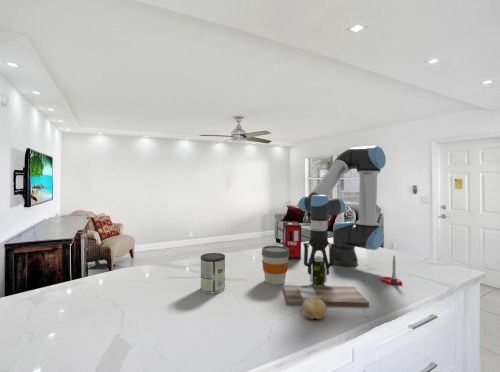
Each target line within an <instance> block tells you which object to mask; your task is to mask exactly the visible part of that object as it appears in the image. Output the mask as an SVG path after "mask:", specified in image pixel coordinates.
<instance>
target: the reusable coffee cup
mask: <svg viewBox="0 0 500 372" xmlns="http://www.w3.org/2000/svg"><path fill="white" fill-rule="evenodd" d="M261 256H262V261H261V262H262V271H263V273H264V282H265V283H266V284H269V285H274V286H279V285H284V284H285V282H286V278H287V272H288V269H289V268H288V267H289V259H288V256H289V249H288V248H287V247H283V245H267V246H264V247H262V249H261Z"/></svg>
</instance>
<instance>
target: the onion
mask: <svg viewBox="0 0 500 372" xmlns="http://www.w3.org/2000/svg"><path fill="white" fill-rule="evenodd" d="M301 310H302V312H303V314H304V316H305V317H306V318H308V319H310V320H313V321H314V320H315V319H316V320H322V318H323V317H325V315H326V313H327V306H326V305H325V303H324V302H323V301H322V300H321V297H318V294H317V297H310V298H307V299H306V300H305V301H304V302H303V304H302V305H301Z"/></svg>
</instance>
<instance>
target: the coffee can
mask: <svg viewBox="0 0 500 372" xmlns="http://www.w3.org/2000/svg"><path fill="white" fill-rule="evenodd" d="M225 260H226V255H225V254H223V253H219V252H209V253H204V254H202V255H201V256H200V291H201V292H202V293H205V294H219V293H222V292H223V291H225V289H226V287H225V286H226V283H225V282H226V281H225V280H226V269H225V267H226V263H225V262H226V261H225Z"/></svg>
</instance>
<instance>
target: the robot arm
mask: <svg viewBox="0 0 500 372" xmlns="http://www.w3.org/2000/svg"><path fill="white" fill-rule="evenodd" d="M386 159H387V158H386V154H385V151H384V150H383V148H382V147H381V146H378V145H368V146H358V147H357V146H356V147H350V148H347V149H346V150H344V151H343V152H342V153H340V154H339V155H338V156H336V158H335V159H334V160H333V162H332V164H331V165H332V166H331V167H330V168H329V170H327V172H326V173H325V174H324V176H323V177H322V179H321V180H320V181H318V184H316V186H315V187H314V188H313V190H312V191H311V192H310V193H309V195H307V196H302V197H301V198H300V199H299V203H298V206H299V207H298V208H299V209H300V211H302V212H305V213H310V224H309V225H310V231H309V233H310V234H309V236H310V237H309V238H310V239H309V240H308V242H303V248H304V250H303V252H304V253H303V254H304V255H303V265H304V266H305V267H307V274H308V275H309V281H310V283H311V284H312V283H313V267H312V263H313V259H314V256H316V253H317V252H318V251H320V252H321V254H322V257H324V260H325V273H324V284H325V283H327V279H328V277H327V276H329V274H330V268H331V267H334V265H337V266H342V267H353V266H357V265H358V261H359V260H358V256H357V254H356V251H355V250H356V249H355V248H361V249H365V250H371V251H375V250H378V249H379V248H380V247H381V245H382V244H383V242H384V238H385V237H384V236H385V235H384V230H383V228H380V223H378V221H377V205H378V204H377V202H378V201H377V200H378V195H377V194H378V193H377V192H378V176H379V174H380V173H381V170H382V169H383V168H385V165H386V162H387V161H386ZM351 170H356V173H357V174H358V175H359V187H358V188H359V192H358V193H359V194H358V196H359V199H358V220H356V222H355V221H339V222H335V223H334V224H333V229H332V231H333V232H332V236H333V237H332V239H333V240H332V242H329V239H328V235H329V234H328V232H329V231H328V229H329V228H328V227H329V220H328V219H329V216H337V215H342V214H343V213H344V212H345V209H346V203H345V201H344V200H343V199H342V198H329V195H330V193H331V192H332V191H333V189H334V188H335V186H336V185H337V184H338V183H339V181H341V179H342V177H343V176H344V175H346V174H348V172H349V171H351ZM310 247H311V253H310V256H308V255H309V248H310ZM327 247H328V253H329V254H328V256H327V252H326V248H327ZM328 257H329V260H328Z"/></svg>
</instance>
